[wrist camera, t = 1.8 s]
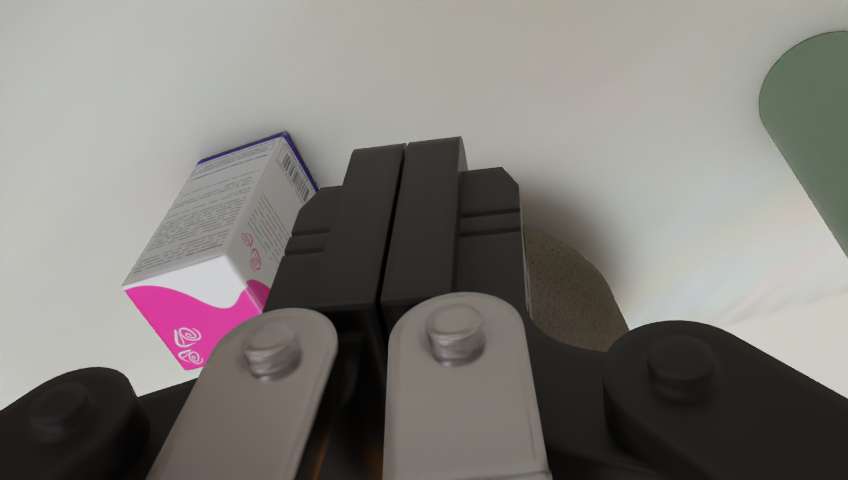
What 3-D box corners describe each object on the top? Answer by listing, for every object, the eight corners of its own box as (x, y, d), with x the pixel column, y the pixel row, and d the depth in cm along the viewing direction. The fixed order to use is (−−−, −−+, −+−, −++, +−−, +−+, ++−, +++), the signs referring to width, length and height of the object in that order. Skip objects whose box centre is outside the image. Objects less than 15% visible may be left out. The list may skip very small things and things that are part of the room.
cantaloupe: (532, 125, 42) (549, 303, 30) (652, 303, 48) (708, 513, 36) (326, 243, 48) (268, 436, 35) (458, 390, 54) (448, 599, 41)
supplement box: (194, 161, 45) (115, 285, 36) (287, 129, 43) (230, 249, 34) (244, 241, 48) (183, 376, 38) (332, 214, 46) (292, 347, 37)
